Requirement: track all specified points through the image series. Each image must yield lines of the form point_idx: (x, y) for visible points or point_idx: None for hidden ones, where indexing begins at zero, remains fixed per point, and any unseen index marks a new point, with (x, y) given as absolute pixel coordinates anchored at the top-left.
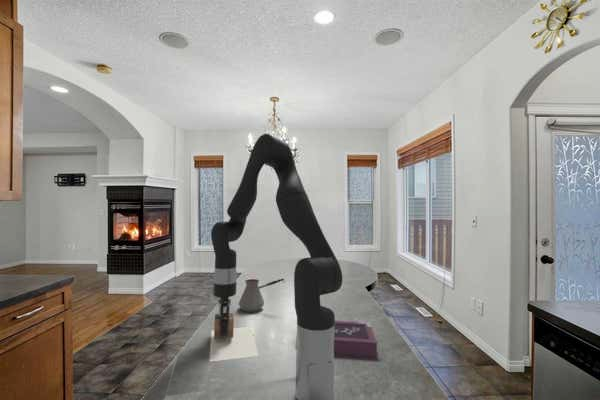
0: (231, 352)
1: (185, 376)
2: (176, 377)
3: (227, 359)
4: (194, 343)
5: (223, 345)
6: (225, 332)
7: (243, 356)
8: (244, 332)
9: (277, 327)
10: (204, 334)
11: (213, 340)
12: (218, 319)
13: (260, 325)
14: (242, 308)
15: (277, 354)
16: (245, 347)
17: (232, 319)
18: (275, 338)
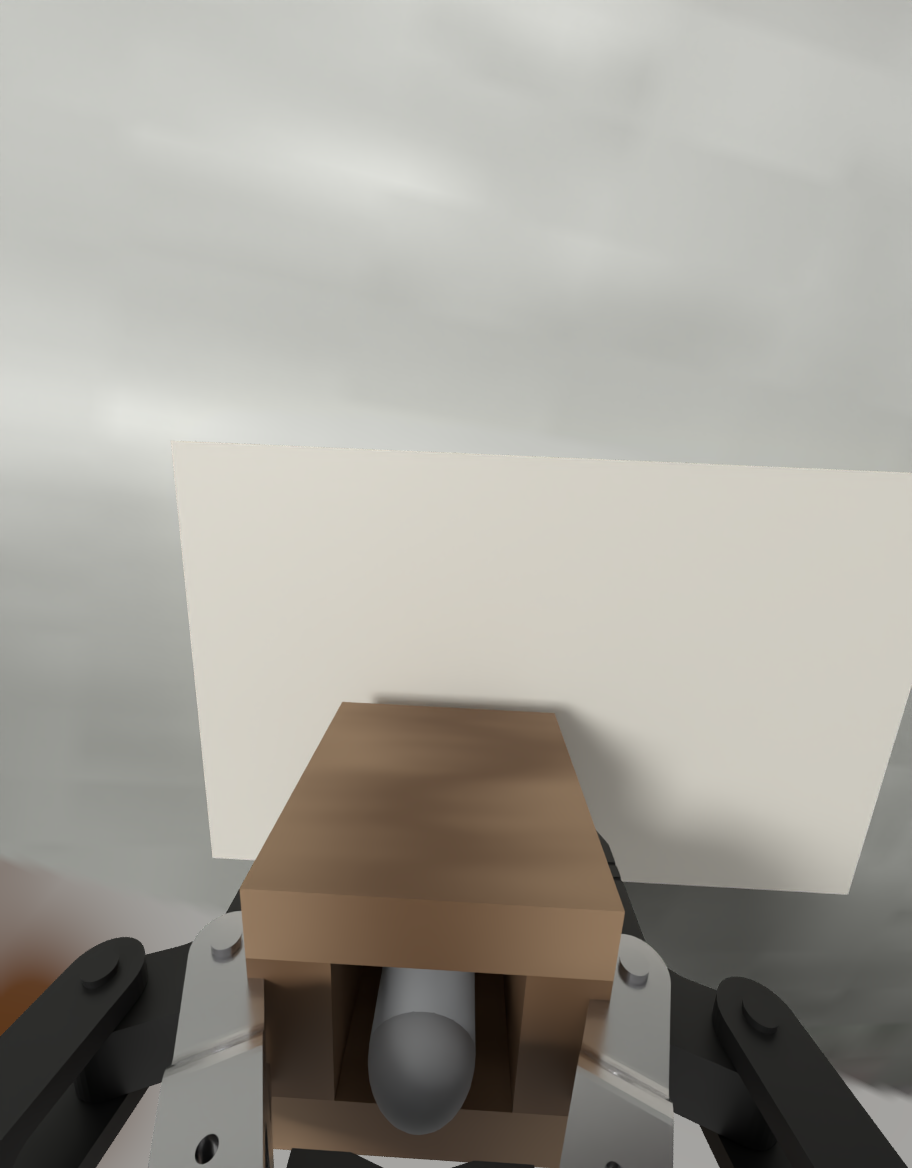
0: (767, 724)
1: (859, 983)
2: (843, 1024)
3: (883, 767)
4: None
5: (594, 779)
6: (612, 860)
7: (901, 628)
8: (335, 545)
9: (130, 25)
10: (219, 874)
11: None
12: (550, 1124)
13: (41, 286)
14: None
15: (887, 236)
16: (722, 585)
17: (620, 925)
18: (480, 156)
